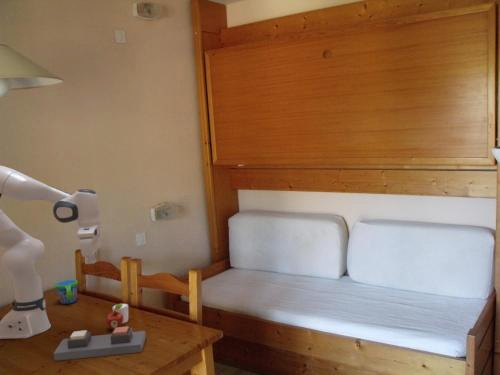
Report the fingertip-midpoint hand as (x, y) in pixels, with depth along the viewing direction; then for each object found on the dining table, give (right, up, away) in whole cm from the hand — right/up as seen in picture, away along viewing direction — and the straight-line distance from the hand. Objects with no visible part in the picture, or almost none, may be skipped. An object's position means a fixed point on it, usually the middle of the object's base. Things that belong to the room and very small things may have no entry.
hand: (93, 262), depth 203 cm
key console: (+6, -32, -10) cm, 34 cm away
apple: (+7, -30, +10) cm, 32 cm away
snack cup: (-28, -28, +49) cm, 63 cm away
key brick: (+14, -27, -10) cm, 32 cm away
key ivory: (-2, -28, -11) cm, 31 cm away
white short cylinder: (+7, -29, +18) cm, 35 cm away
